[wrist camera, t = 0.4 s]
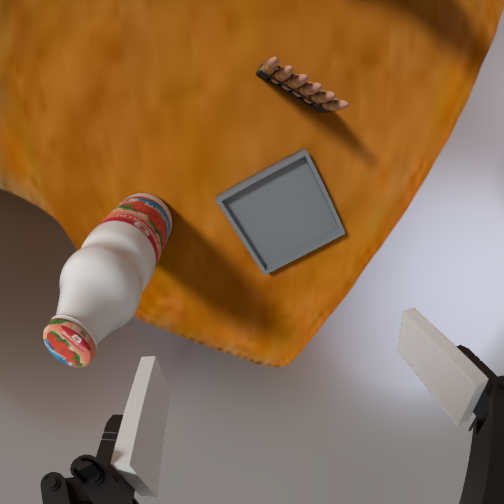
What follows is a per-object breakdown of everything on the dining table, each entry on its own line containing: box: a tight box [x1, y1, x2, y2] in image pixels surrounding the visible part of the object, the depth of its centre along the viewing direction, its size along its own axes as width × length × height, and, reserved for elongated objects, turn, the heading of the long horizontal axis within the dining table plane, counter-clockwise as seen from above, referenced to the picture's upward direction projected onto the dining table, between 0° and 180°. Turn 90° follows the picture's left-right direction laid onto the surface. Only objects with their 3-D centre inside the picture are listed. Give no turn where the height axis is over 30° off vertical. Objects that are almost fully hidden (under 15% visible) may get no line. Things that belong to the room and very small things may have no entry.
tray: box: [216, 148, 345, 275], centre depth 45 cm, size 15×15×2 cm
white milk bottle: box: [43, 193, 172, 367], centre depth 32 cm, size 9×9×28 cm
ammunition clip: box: [256, 57, 349, 113], centre depth 32 cm, size 11×2×12 cm, turn 60°
